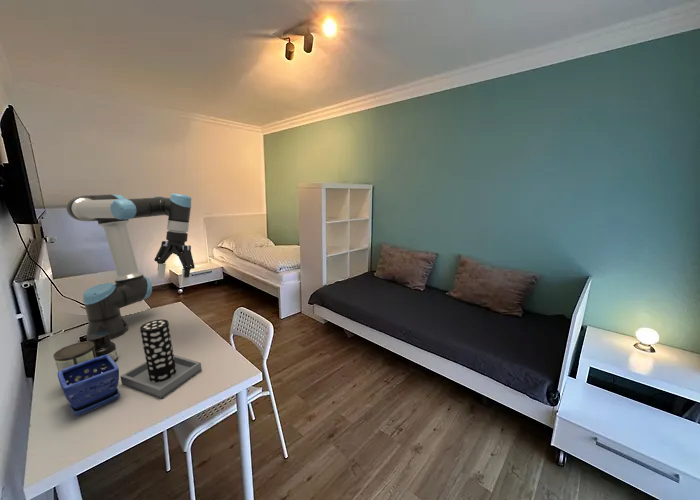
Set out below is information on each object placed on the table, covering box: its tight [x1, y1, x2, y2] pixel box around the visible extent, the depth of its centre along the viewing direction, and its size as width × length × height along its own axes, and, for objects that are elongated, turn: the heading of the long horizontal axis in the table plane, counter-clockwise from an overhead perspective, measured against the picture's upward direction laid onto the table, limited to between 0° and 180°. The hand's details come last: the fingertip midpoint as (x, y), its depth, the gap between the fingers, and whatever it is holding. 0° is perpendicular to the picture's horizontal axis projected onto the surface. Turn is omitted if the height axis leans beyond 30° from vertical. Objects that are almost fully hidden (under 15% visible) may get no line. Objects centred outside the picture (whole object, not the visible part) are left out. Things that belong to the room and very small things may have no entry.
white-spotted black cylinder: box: [139, 319, 176, 382], centre depth 104 cm, size 8×8×20 cm
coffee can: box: [52, 340, 97, 385], centre depth 101 cm, size 10×10×14 cm
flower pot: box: [57, 355, 121, 416], centre depth 93 cm, size 13×13×12 cm
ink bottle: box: [86, 331, 119, 369], centre depth 114 cm, size 10×9×12 cm
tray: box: [119, 354, 203, 400], centre depth 106 cm, size 20×16×4 cm
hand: (172, 282), depth 121 cm, fingers open, 13 cm apart
